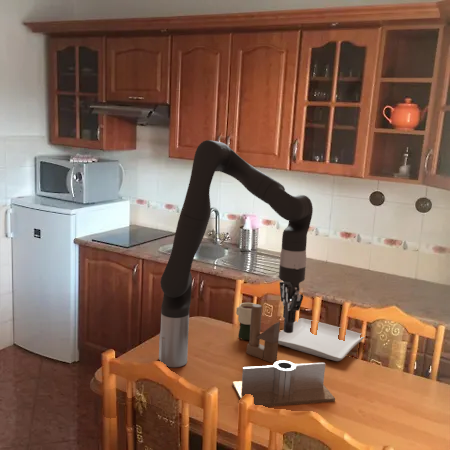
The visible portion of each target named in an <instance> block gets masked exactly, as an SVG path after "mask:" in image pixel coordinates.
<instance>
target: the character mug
mask: <svg viewBox="0 0 450 450" xmlns="http://www.w3.org/2000/svg"><path fill="white" fill-rule="evenodd" d="M253 304H254V303H253V302H242V303H240V304H239V305H238V306H236V312H235V313H236V316H238V317H237V318H238V323H240V325H239V330H238V338H239V339H241V340H244V341H248V340H249V339H250V324H251V309H252V305H253Z"/></svg>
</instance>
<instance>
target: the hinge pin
mask: <svg viewBox="0 0 450 450" xmlns="http://www.w3.org/2000/svg"><path fill="white" fill-rule="evenodd" d="M290 300H293V299H290ZM287 313H288V302H285V317H283V319H284V320H283V330H284V332H286V333H292V332H293V325H294V322H293V323H288V322H287Z"/></svg>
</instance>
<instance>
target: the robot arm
mask: <svg viewBox="0 0 450 450" xmlns="http://www.w3.org/2000/svg"><path fill="white" fill-rule="evenodd" d="M215 172H220V173H223V174H226V175H228V176H230V177H232V178H234V179H235V180H237V181H238V182H239V183H240V184H241V185H243V187H244V188H245V189H246V190H247V191H249V193H250V194H252V195H253V196H255V197H256V198H258V199H259V200H260V201H262V202H264V203H266V204H267V205H269V207H270V208H271V209H272V210H273V211H274V212H275V213H276V214H277V215H278V216H279V217H281V218H282V219H283V220H285V221H287V222H288V223H287V224H288V225H287V226H286V228H285V229H283V232H282V238H281V248H280V250H281V251H280V256H279V268H278V269H279V270H278V271H279V272H278V278H279V280H280V282H279V291H280V293H279V294H280V301H281V303H282V306H283V311H282V313H283V314H282V317H283V318H284V317H285V302H288V313H287V322H288V323H293V322H295V321H296V313H297V311H300V309H301V305H302V302H303V299H304V294H300V291H301V290H300V289H301V288H300V283H301V282H302V283H303V282H304V281H305V277H306V265H307V239H308V238H307V237H308V233H309V228H310V226H311V221H312V217H313V212H314V208H313V203H312V201H311V199H310V198H309V196H307V195H306V194H305V195H304V194H298V195H291V194H289V193H288V192H287V191H286V188H285V187H284V185H282V183H280V182H279V181H277V180H275V179H274V178H272V177H271V176H269V175H267V174H266V173H264V172H262V171H260V170H259V169H257V168H255V167H254V166H253V165H252V164H250V163H248V162H247V161H246V160H244V159H243V158H242V157H241V156H240V155H238V154H237V152H235V151H234V150H233V149H232V148H231V147H230V146H229V145H228V144H226V143H224V142H221V141H218V140H217V141H216V140H212V139H211V140H210V139H207V140H203V141H202V142H201V143H200V144H198V146H197V147H196V150H195V154H194V157H193V162H192V167H191V173H190V179H189V182H188V187H187V191H186V194H185V197H184V201H183V205H182V208H181V210H180V214H179V217H178V221H177V225H176V229H175V233H174V238H173V243H172V246H171V247H172V249H171V252H170V256H169V257H168V261H167V263H166V266H165V268H164V271H163V272H162V275H161V278H160V287H161V290H162V293H163V297H162V302H161V307H160V308H161V311H160V332H159V343H158V348H159V349H158V360H160V361H161V362H163V363H164V364H166V365H167V366H168V367H167V366H166V367H167V368H180V367H183V366H185V365H187V363H188V357H189V356H188V351H189V350H188V349H189V346H188V345H189V329H190V328H189V325H190V308H191V307H190V306H191V304H192V303H191V302H192V285H193V284H192V283H193V276H192V272H191V270H192V265H193V261H194V259H195V256H196V254H197V252H198V251H199V247H200V245H201V243H202V242H203V239H204V237H205V233H206V231H207V228H208V224H209V222H210V217H211V212H212V209H211V208H212V207H211V198H210V190H211V189H210V188H211V183H212V181H213V178H214V175H215ZM290 299H293V300H290ZM160 361H159V362H160Z"/></svg>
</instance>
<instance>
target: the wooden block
mask: <svg viewBox="0 0 450 450" xmlns="http://www.w3.org/2000/svg"><path fill="white" fill-rule="evenodd" d="M262 309H263V305H261V304H257V303H253V305H252V309H251V324H250V339H249V342H248V343H247V344H246V354H248V355H249V356H253V357H255V358H258V359H261V360H263V361H265V362H269V363H271V364H272V363H275V362H277V361H278V360H277V359H278V352H279V351H278V346H279V344H278V339H279V332H280V323H281V322H280V321H278V322H275V323H273V324H272V325H271V326H269V327H267V329H265V330H264V331H263V332H261V328H262V327H261V325H262V313H263V312H262V311H263V310H262ZM260 341H264V344H261V343H260Z"/></svg>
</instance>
